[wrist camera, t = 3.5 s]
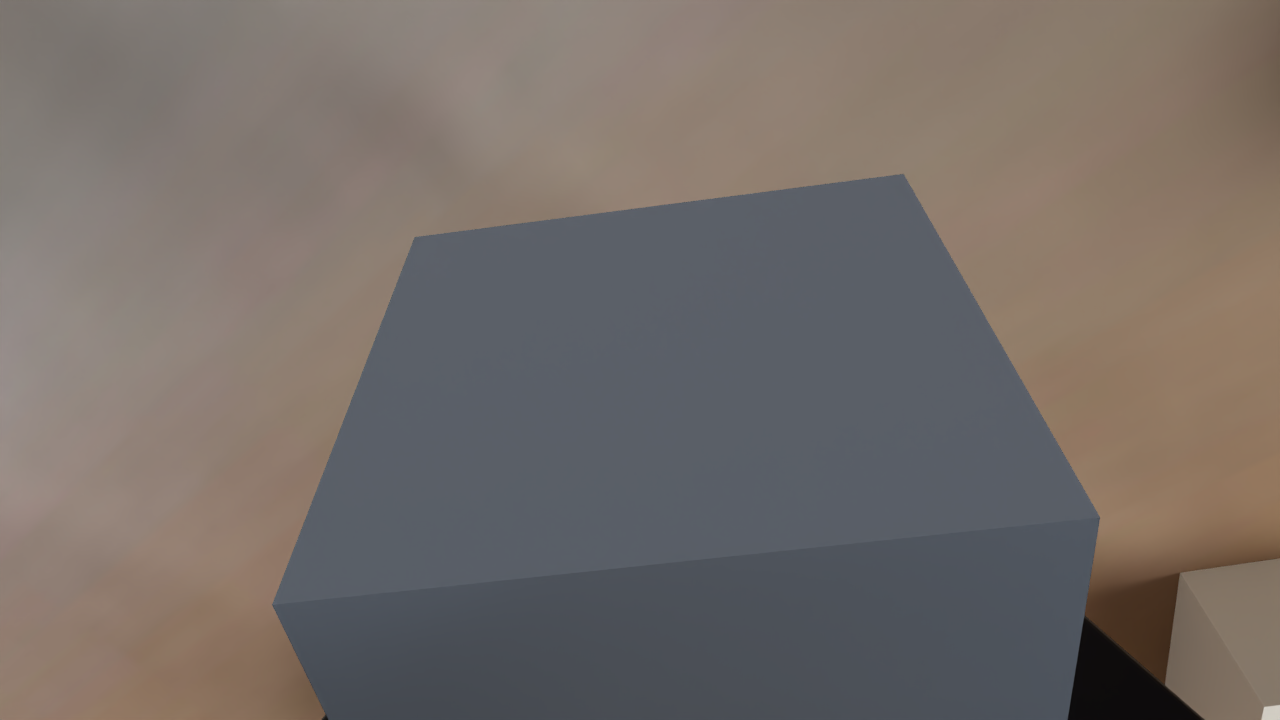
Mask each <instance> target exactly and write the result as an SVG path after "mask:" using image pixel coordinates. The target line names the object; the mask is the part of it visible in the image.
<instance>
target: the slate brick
mask: <svg viewBox="0 0 1280 720" xmlns="http://www.w3.org/2000/svg"><path fill="white" fill-rule="evenodd" d="M1099 520H1100V517H1099V515H1098V513H1097V511H1096V510H1095V508H1094V506H1093V504H1092V503H1091V501H1090V499H1089V497H1088V496H1087V494H1086V492H1085V490H1084V489H1083V487H1082V485H1081V483H1080V482H1079V480H1078V478H1077V476H1076V475H1075V473H1074V471H1073V469H1072V468H1071V466H1070V464H1069V462H1068V461H1067V459H1066V457H1065V455H1064V454H1063V452H1062V450H1061V448H1060V447H1059V445H1058V443H1057V441H1056V440H1055V438H1054V436H1053V434H1052V433H1051V431H1050V429H1049V428H1048V426H1047V424H1046V422H1045V421H1044V419H1043V417H1042V415H1041V414H1040V412H1039V410H1038V408H1037V407H1036V405H1035V403H1034V401H1033V400H1032V398H1031V396H1030V394H1029V393H1028V391H1027V389H1026V387H1025V386H1024V384H1023V382H1022V380H1021V379H1020V377H1019V375H1018V373H1017V372H1016V370H1015V368H1014V366H1013V365H1012V363H1011V361H1010V359H1009V358H1008V356H1007V354H1006V352H1005V351H1004V349H1003V347H1002V345H1001V344H1000V342H999V340H998V338H997V337H996V335H995V333H994V331H993V330H992V328H991V326H990V324H989V323H988V321H987V319H986V317H985V316H984V314H983V312H982V310H981V309H980V307H979V305H978V303H977V302H976V300H975V298H974V296H973V295H972V293H971V291H970V289H969V288H968V286H967V284H966V282H965V281H964V279H963V277H962V275H961V274H960V272H959V270H958V268H957V267H956V265H955V263H954V261H953V260H952V258H951V256H950V255H949V253H948V251H947V249H946V248H945V246H944V244H943V242H942V241H941V239H940V237H939V235H938V234H937V232H936V230H935V228H934V227H933V225H932V223H931V221H930V220H929V218H928V216H927V214H926V213H925V211H924V209H923V207H922V206H921V204H920V202H919V200H918V199H917V197H916V195H915V193H914V192H913V190H912V188H911V186H910V185H909V183H908V181H907V179H906V178H905V176H904V174H900V175H893V176H885V177H877V178H869V179H862V180H854V181H846V182H838V183H831V184H823V185H815V186H807V187H800V188H792V189H784V190H776V191H769V192H761V193H753V194H745V195H738V196H730V197H722V198H715V199H707V200H699V201H691V202H684V203H676V204H668V205H660V206H653V207H645V208H637V209H629V210H622V211H614V212H606V213H598V214H591V215H583V216H575V217H567V218H560V219H552V220H544V221H537V222H529V223H521V224H513V225H506V226H498V227H490V228H482V229H475V230H467V231H459V232H451V233H444V234H436V235H428V236H420V237H415V238H414V240H413V243H412V246H411V248H410V251H409V253H408V256H407V259H406V261H405V264H404V266H403V269H402V271H401V274H400V277H399V279H398V282H397V284H396V287H395V289H394V292H393V295H392V297H391V300H390V302H389V305H388V308H387V310H386V313H385V315H384V318H383V320H382V323H381V326H380V328H379V331H378V333H377V336H376V338H375V341H374V344H373V346H372V349H371V351H370V354H369V357H368V359H367V362H366V364H365V367H364V369H363V372H362V375H361V377H360V380H359V382H358V385H357V388H356V390H355V393H354V395H353V398H352V400H351V403H350V406H349V408H348V411H347V413H346V416H345V418H344V421H343V424H342V426H341V429H340V431H339V434H338V437H337V439H336V442H335V444H334V447H333V449H332V452H331V455H330V457H329V460H328V462H327V465H326V467H325V470H324V473H323V475H322V478H321V480H320V483H319V486H318V488H317V491H316V493H315V496H314V498H313V501H312V504H311V506H310V509H309V511H308V514H307V516H306V519H305V522H304V524H303V527H302V529H301V532H300V535H299V537H298V540H297V542H296V545H295V547H294V550H293V553H292V555H291V558H290V560H289V563H288V565H287V568H286V571H285V573H284V576H283V578H282V581H281V584H280V586H279V589H278V591H277V594H276V596H275V599H274V602H273V604H272V605H273V607H274V609H275V611H276V614H277V616H278V618H279V620H280V622H281V624H282V626H283V628H284V630H285V632H286V634H287V636H288V638H289V640H290V642H291V644H292V646H293V648H294V650H295V652H296V654H297V656H298V658H299V661H300V663H301V665H302V667H303V669H304V671H305V673H306V675H307V677H308V679H309V681H310V683H311V685H312V687H313V689H314V691H315V693H316V695H317V697H318V699H319V701H320V703H321V706H322V708H323V710H324V712H325V714H326V716H327V718H328V720H1068V714H1069V707H1070V701H1071V695H1072V689H1073V682H1074V676H1075V670H1076V664H1077V658H1078V651H1079V645H1080V639H1081V633H1082V626H1083V620H1084V614H1085V608H1086V601H1087V595H1088V589H1089V583H1090V576H1091V570H1092V564H1093V558H1094V552H1095V545H1096V539H1097V533H1098V527H1099Z"/></svg>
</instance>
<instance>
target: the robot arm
mask: <svg viewBox="0 0 1280 720" xmlns="http://www.w3.org/2000/svg"><path fill="white" fill-rule="evenodd" d="M322 720H328V718H327V716H326V715H325V716H324V717H323V718H322ZM1068 720H1205V719H1203V718H1202V717H1201V716H1200V715H1199V714H1198V713H1197V712H1195V711H1194V710H1193V709H1192V708H1191V707H1190V706H1188V705H1187V704H1186V703H1185V702H1184V701H1183V700H1182V699H1180V698H1179V697H1178V696H1177V695H1176V694H1175V693H1174V692H1172V691H1171V690H1170V689H1169V688H1168V687H1167V686H1165V685H1164V684H1163V683H1162V682H1161V681H1160V680H1159V679H1157V678H1156V677H1155V676H1154V675H1153V674H1152V673H1150V672H1149V671H1148V670H1147V669H1146V668H1145V667H1144V666H1142V665H1141V664H1140V663H1139V662H1138V661H1137V660H1136V659H1134V658H1133V657H1132V656H1131V655H1130V654H1129V653H1127V652H1126V651H1125V650H1124V649H1123V648H1122V647H1121V646H1119V645H1118V644H1117V643H1116V642H1115V641H1114V640H1112V639H1111V638H1110V637H1109V636H1108V635H1107V634H1106V633H1104V632H1103V631H1102V630H1101V629H1100V628H1099V627H1098V626H1096V625H1095V624H1094V623H1093V622H1092V621H1091V620H1089V619H1088V618H1087V617H1086V616H1085V615H1084V620H1083V626H1082V633H1081V639H1080V645H1079V651H1078V658H1077V664H1076V670H1075V676H1074V682H1073V689H1072V695H1071V701H1070V707H1069V714H1068Z"/></svg>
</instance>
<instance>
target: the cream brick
mask: <svg viewBox="0 0 1280 720" xmlns="http://www.w3.org/2000/svg"><path fill="white" fill-rule="evenodd" d="M1165 686H1167V687H1168V688H1169V689H1170V690H1171V691H1172V692H1174V693H1175V694H1176V695H1177V696H1178V697H1179V698H1180V699H1182V700H1183V701H1184V702H1185V703H1186V704H1187V705H1188V706H1190V707H1191V708H1192V709H1193V710H1194V711H1195V712H1197V713H1198V714H1199V715H1200V716H1201V717H1202V718H1203V719H1205V720H1280V558H1279V559H1272V560H1265V561H1258V562H1251V563H1244V564H1237V565H1230V566H1223V567H1216V568H1209V569H1202V570H1195V571H1189V572H1182V573H1180V577H1179V584H1178V591H1177V599H1176V606H1175V614H1174V621H1173V628H1172V636H1171V643H1170V650H1169V658H1168V665H1167V672H1166V680H1165Z"/></svg>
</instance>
